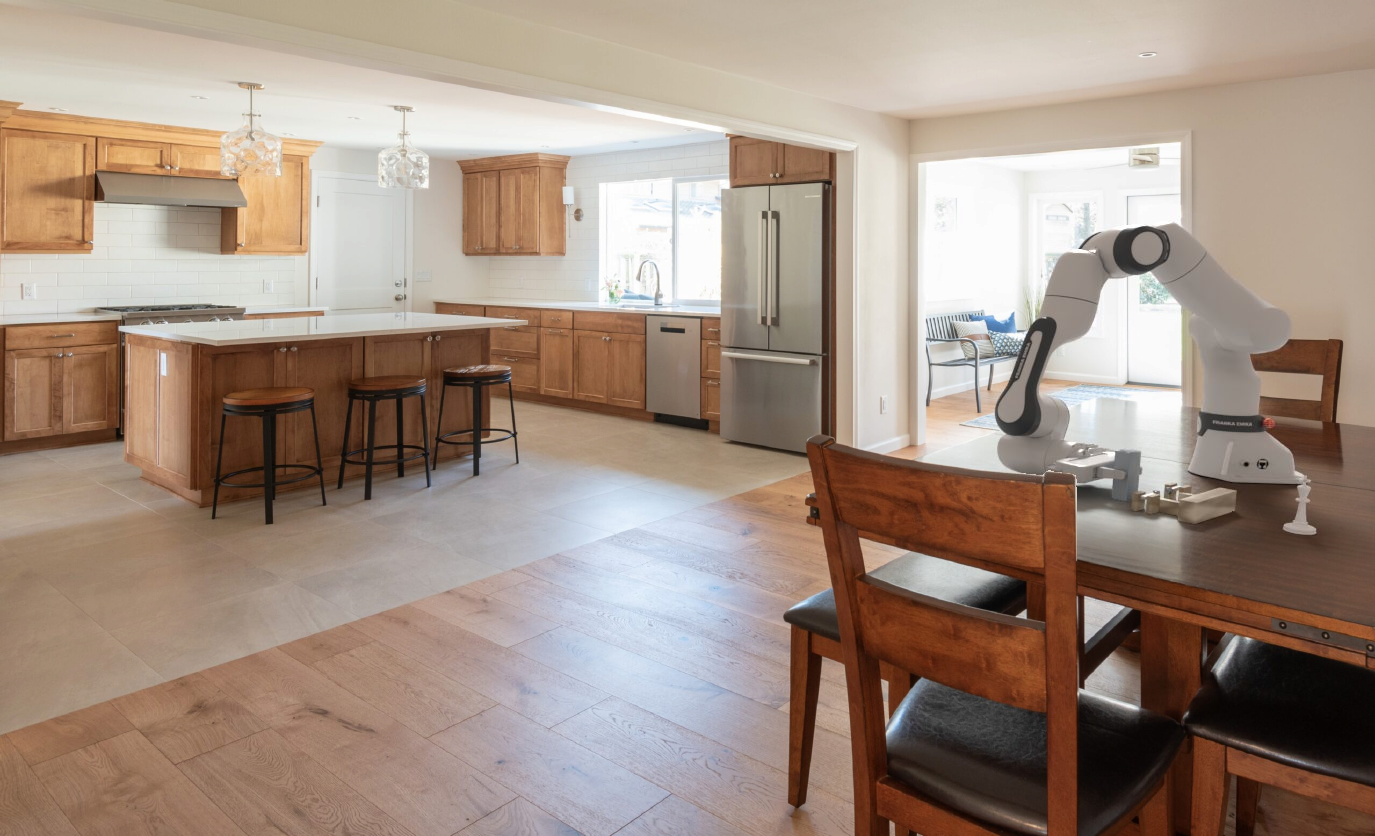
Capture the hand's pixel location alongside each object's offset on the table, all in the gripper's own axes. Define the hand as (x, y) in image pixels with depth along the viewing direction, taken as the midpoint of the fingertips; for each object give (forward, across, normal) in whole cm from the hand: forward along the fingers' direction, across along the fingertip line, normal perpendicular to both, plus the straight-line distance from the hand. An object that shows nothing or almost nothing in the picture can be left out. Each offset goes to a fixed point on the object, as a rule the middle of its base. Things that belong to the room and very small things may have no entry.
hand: (1132, 473), depth 177 cm
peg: (-1, 0, +6) cm, 6 cm away
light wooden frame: (+10, 0, +6) cm, 11 cm away
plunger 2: (+6, +4, +3) cm, 8 cm away
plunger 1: (+6, -5, +3) cm, 8 cm away
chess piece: (+29, +3, +6) cm, 30 cm away
